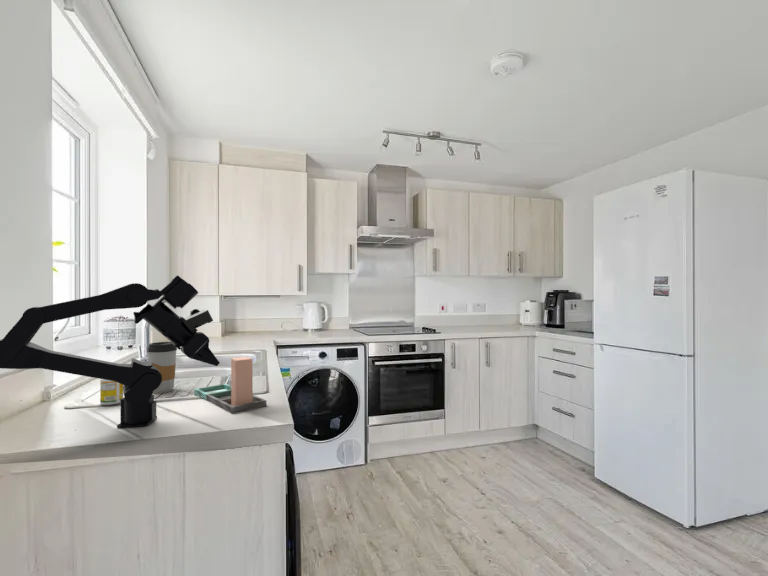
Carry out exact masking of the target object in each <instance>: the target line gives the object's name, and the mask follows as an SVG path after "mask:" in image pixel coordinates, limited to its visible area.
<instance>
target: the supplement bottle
mask: <svg viewBox="0 0 768 576" xmlns="http://www.w3.org/2000/svg"><path fill="white" fill-rule="evenodd" d="M99 380H100V382H99V384H100V389H99V390H100V392H99V393H100V395H99V396H100V398H99V401H100V405H102V406H112V405H113V406H114V405H117V404H120V399H122V398H124V393H123V386H124V385H122V384H120V383H118V382H115V381H111V380H105V379H99Z"/></svg>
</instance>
